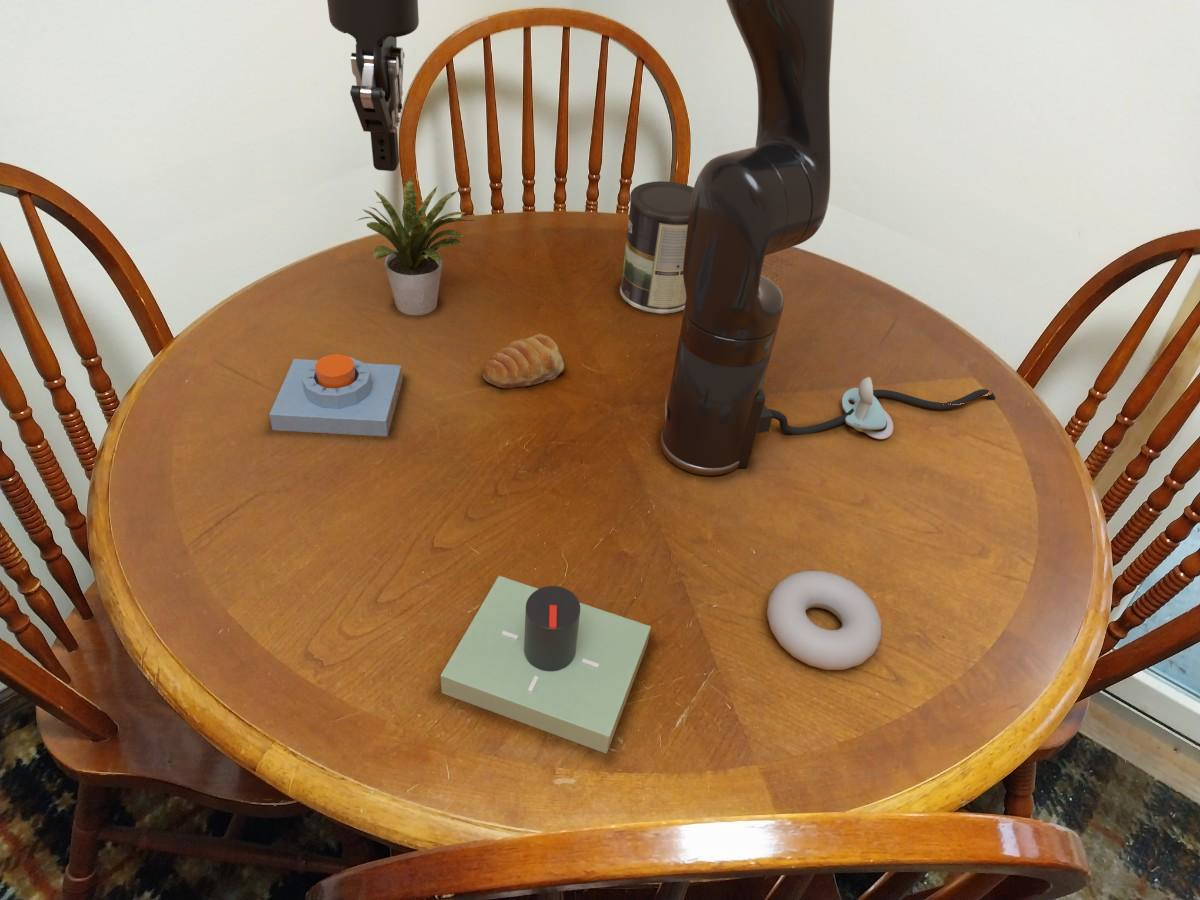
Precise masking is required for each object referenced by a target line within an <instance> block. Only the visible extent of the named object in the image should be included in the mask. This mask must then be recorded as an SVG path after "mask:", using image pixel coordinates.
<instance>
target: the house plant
mask: <svg viewBox="0 0 1200 900" xmlns="http://www.w3.org/2000/svg"><path fill="white" fill-rule="evenodd" d="M438 187H439V184H438V185H437V186H435V187H434V189H433V190H431V191H430V193H429V194H428V195H427V196H426V198H425V199H424V200H423V202H422V203H421V204H420V206H419V207H418V206H417V205H418V196H417V193H416V190H415V183H414V179H413V175H411V176H409V178H408V180H407V182H406V179H405V181H404V183H403V197H402V198H403V205H402V212H401V213H402V215H401V216H402V217H401V218H402V221H403V223H402V221H401V219H400V217H399V215H398V213H397V211H396V209H395V208H394V206H393V205H392V204H391V202H390V201H389V200H388V199H387V198H386V197H385V196H384V195H383V194H381V193H379V192H378V191H377V190H374V192H375V195H376V196H377V198H379V199H380V201H377V203H379V204H382V206H383V208H384V209H385V211H386V212H387V214H388V216H389V218H390V219H391V222H392V224H391V222H390V221H389V219H388V218H387V217H386V216H385V215H383V214H382V213H381V212H380V211H379V210H378V209H377V208H375V207H372V206H367V207H369V208H370V209H372V210H374V211H376V212H377V213H378V214H379V216H381V217H382V218H383V219H382V218H380V217H379V216H377V215H376V214H374V212H372V211H370V210H366V209H362V208H361V210H362V211H364V212H365V213H366V214H368V215H370V216H365V217H364V216H363V217H360V218H358V219H357V220H355V221H356V222H357V221H361V220H364V219H374V220H375V221H370V222H367V223H366V227H367V228H369V229H371V230H372V231H374V232H376V233H378V234H380V235H381V236H383V237H385V238H386V239H387V240H388V241H389V242H390V243H391V244H392V245H393V247H394V248H395V249H396V250H393V249H391V248H390V247H388V246H385V245H378V246H376V247H375V249H374V254H373V257H372V258H374V262H376V260H379V259H381V258H384V257H386V258H385V260H384V267H385V270H386V274H387V278H388V283H389V285H390V289H391V292H392V297H393V299H394V304H395V307H396V309H397V310H398V311H399V312H401V313H403V314H405V315H409V316H423V315H427V314H429V313H432V312H433V311H434V310H436V308H437V305H438V297H439V289H440V284H441V275H442V269H443V259H442V257H441V256H440V254H439V252H438V251H437V250H438V249H440V248H442V247H448V246H456V245H460V246H463V247H464V248H466V247H465V246H464V243H462V242H461V241H460V240H459V239H457V238H465V237H466V238H467V237H468V235H463V234H462V233H460V232H459V231H457V230H454V229H443V230H440V231H438V232H437V233H435V232H436V230H438V228H440V227H442V226H444V225H446V224H450V223H451V224H452V223H455V222H456V223H457V222H473V221H474V222H475V221H476V219H466V218H455V217H452V216H457V215H466V214H471V212H468V211H453V212H450V213H447V214H446V213H445V214H444V215H442V216H440V217H438V215H439V214H440V213H441V212H442V211H443V210H444V207H445V205H446V203H447V202H448V201H449V200H450V199H451V198H452V197H453V196H454V195H455V194H457V193H458V192H459V191H458V190H457V191H453V192H450V193H448V194H445V196H443V197H442V198H440V199H439V200H438V201H437V202H436V203H435V205H434V206H433V207H432V208H431V209H430V211H429V212H427V209H428V208H429V205H430V203H431V200H432V199H433V197H434V195H435V194H436V192H437V189H438ZM417 208H418V209H417ZM425 214H426V216H425ZM424 216H425V217H424ZM437 217H438V218H437ZM436 218H437V219H436ZM423 219H424V220H423ZM392 225H393V226H392ZM434 233H435V234H434ZM433 234H434V235H433ZM450 235H451V236H450ZM444 236H450V237H447V238H443V239H441V240H438V241H436V240H437V239H439V238H440V237H444ZM435 241H436V242H435ZM433 242H434V243H433Z"/></svg>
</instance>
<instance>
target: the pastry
mask: <svg viewBox="0 0 1200 900" xmlns="http://www.w3.org/2000/svg"><path fill="white" fill-rule="evenodd" d="M559 349H560V348H559V346H558V345H557V343H555V341H554V340H553V339H552V337H550V336H549V335H544V334H542V333H537V334H534V335H533V336H530V337H527V338H520V339H519V340H518V339H517V340H512V341H511V342H509V343H508V344H507V345H505V347H503V348H500V350H499V351H497V352H496V353H495V354H493V356H491V357H490V358H489V359H488V360H487V361H486V362H485V363H484V365H483V373H482V378H483V379H484V380H485V382H487V383H488V384H491V385H493V386H495V387H497V388H500V389H501V388H503V389H512V388H519V387H522V388H525V387H530V386H533V385H534V386H535V385H538V384H543V383H544V382H545V381H552V380H555V379H556V378H557V377H558V376H559V375H560V374H561V373H563V372H564V370H565V363H564V361H563V356H562V355H561V353H560V350H559Z"/></svg>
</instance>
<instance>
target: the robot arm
mask: <svg viewBox="0 0 1200 900" xmlns="http://www.w3.org/2000/svg"><path fill="white" fill-rule="evenodd" d="M326 2H327V10H328V11H327V12H328V18H329V22H330V25H331V26H332V27H333V28H334V29H335V30H337V31H338V32H340V33H342V34H348V35H349V36H351V37H353V39H354V40H355V52H351V54H350V65H351V72H352V74H353V76H354V77H355V81H356V85H355V84H353V85H351V88H350V90H349V94H350V97H351V101H352V103H353V106H354V109H355V112H356V114H357V117H358V120H359V122H360V125H361V129H362V131H363V132H365V133H370V143H371V152H372V163H373V167H374V169H375V170H377V171H385V172H395V171H396V170H397V168H398V165H399V163H400V153H399V141H398V127H399V123H400V122H401V119H400V116H399V114H401V113H402V109H403V103H402V100H403V98H402V97H403V94H404V93H403V79H404V77H403V76H404V64H405V52H404V49H403V47H400V46H397V44H398V42H397V40H398V39H397V38H400V37H405V36H408V35H409V34H412V33H413V32H415V31H416V30H417V28H418V27H419V23H420V20H419V19H420V18H419V0H326ZM725 2H726V4H727V6H728V9H729V11H730V14H731V16H732V18H733V21H734V23H735V25H736V27H737V30H738V32H739V34H740V36H741V39H742V41H743V43H744V45H745V47H746V50H747V53H748V55H749V57H750V60H751V63H752V66H753V70H754V75H755V80H756V87H757V88H756V89H757V129H756V133H757V134H756V139H755V146H752V147H748V148H745V149H740V150H736V151H731V152H727V153H724V154H720V155H718V156H716V157H713V158H711V159H710V160H709V161H708V162H707V163H706V164H705V165H704V166H703V167H702V168H701V170H700V172H699V174H698V176H697V178H696V180H695V182H694V186H693V188H694V189H693V193H692V198H691V203H690V210H689V218H688V227H687V237H686V246H685V255H684V264H683V278H684V285H685V290H686V301H685V308H684V310H683V314H682V319H681V325H680V331H679V337H678V343H677V348H676V353H675V359H674V365H673V371H672V376H671V382H670V388H669V393H668V395H666V396H665V402H664V414H665V415H664V422H663V425H662V429H661V434H660V439H659V441H660V442H659V444H660V450H661V451H662V453H663V455H664V457H665V458H666V459H667V460H668V461H669V462H670V463H671V464H673V465H674V466H675V467H677V468H678V469H680V470H682V471H685V472H688V473H691V474H694V475H698V476H706V477H714V476H715V477H717V476H722V475H726V474H727V475H728V474H729V473H732V472H734V471H736V470H737V469H747V468H748V467H749V464H750V463H749V462H750V459H751V456H752V452H753V451H752V450H753V449H754V446H755V445H754V444H755V440H756V437H757V434H762V433H769V431H770V427H771V425H772V421H773V419H774V420H777V421H778V422H779V428H780V430H781V431H782V432H783V433H785V434H787V435H792V436H802V435H811V434H816V433H821V432H824V431H826V430H830V429H832V428H835V427H837V426H840V425H842V424H844V423H846V422H845V419H846V417H847V416H848V415H851V414H852V413H853V412H854V409H853V408H852V409H851V410H850V411H849V412H848V413H847V412H846V413H845V412H844V413H843V414H841V415H840V416H837V417H835V418H833V419H830V420H826V421H824V422H820V423H817V424H813V425H809V426H803V427H800V426H799V427H798V426H797V427H796V426H791V425H789V423H788V422H789V421H788V418H787V416H786V415H785V414H784V413H782V412H780V411H779V410H776V409H771V408H768V407H767V405H766V400H767V399H766V397H767V396H766V393H765V388H764V383H765V378H766V374H767V371H768V367H769V365H770V360H771V356H772V351H773V347H774V344H775V342H776V341H775V340H776V337H777V333H778V329H779V326H780V322H781V318H782V315H783V310H784V306H785V305H784V302H785V301H784V295H783V292H782V291H781V289H780V288H779V286H778V285H777V283H775V282H773V280H771V279H769V278H768V277H767V276H765V275H763V274H762V270H763V265H764V260H765V257H767V256H768V255H772V254H775V253H779V252H781V251H785V250H787V249H790V248H792V247H793V248H794V247H795V246H798V245H800V244H803V243H805V242H806V241H808V240H810V239H811V238H812V237H813V236H815V234H816V233H817V232H818V230H819V229H820V228H821V226H822V224H823V223H824V220H825V217H826V214H827V210H828V208H829V207H828V206H829V202H830V201H829V200H830V193H831V116H830V115H831V112H830V111H831V110H830V109H831V107H830V105H831V104H830V101H831V99H830V97H831V96H830V91H831V90H830V88H831V87H830V84H831V81H830V80H831V64H832V63H831V61H832V47H833V46H832V45H833V31H834V30H833V29H834V12H835V11H834V10H835V0H725ZM989 391H990V390H989V389H986V388H982V389H978V390H974V391H972V392H971V393H968V394H966V395H964V396H962V397H960V398H957V399H955V400H954V399H953V400H951V401H952V402H951V401H946V402H947V403H940V402H941V401H931V400H926V399H922V398H919V397H916V396H912V395H909V394H906V393H902V392H899V391H894V390H890V389H889V390H888V389H873V395H874V396H875V397H876V398H886V399H893V400H897V401H901V402H903V403H906V404H910V405H912V406H916V407H918V408H919V407H920V408H924V409H928V410H934V411H947V410H954V409H956V408H959V407H962V406H964V405H966V404H967V403H966V402H968V401H970V402H973V401H974V400H976V398H977V399H979V398H982V397H981V396H983V395H985V394H987V393H988V392H989ZM978 397H979V398H978ZM983 397H984V398H986V399H987V400H989V401H995V400H996V395H995V394H994V393H993V392H992V394H991V395H988V396H983ZM950 403H951V405H950ZM960 403H965V404H961V405H952V404H960ZM968 403H969V402H968ZM854 404H855V403H854V401H852V403H851V405H854ZM943 404H944V405H943ZM948 404H949V405H948Z"/></svg>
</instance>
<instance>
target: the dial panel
mask: <svg viewBox="0 0 1200 900" xmlns="http://www.w3.org/2000/svg"><path fill="white" fill-rule="evenodd" d="M538 589H539V588H537V587H535V586H531V585H528V584H525V583H522V582H520V581H517V580H513V579H511V578H508V577H504V576H503V575H502V576H501V575H498V576H497V578H496V580H495V581H494V583H493V584H492V587H491V588H490V589H489V592H488V593H487V595H486V597H485V598H484V600H483V602H482V603H481V605H480V607H479V609H478V611H477V612H476V614H475V616H474V617H473V619H472V620H471V622H470V624H469V626H468V628H467V629H466V631H465V632H464V634H463V636H462V638H461V640H460V641H459V643H458V645H457V646H456V648H455V650H454V651H453V653H452V655H451V656H450V658H449V660H448V662H447V663H446V665H445V667H444V669H443V670H442V672H441V674H440V688H441V694H443V695H445V696H448V697H451V698H452V699H453V698H454V699H456V700H459V701H461V702H464V703H467V704H470V705H472V706H475V707H477V708H480V709H484V710H485V711H489V712H492V713H494V714H496V715H500V716H503V717H506V718H507V719H508V718H509V719H511V720H513V721H516V722H519V723H521V724H523V725H524V724H525V725H526V726H530V727H533V728H535V729H538V730H539V731H543V732H545V733H548V734H551V735H554V736H557V737H559V738H562V739H565V740H568V741H570V742H573V743H576V744H578V745H582V746H584V747H587V748H589V749H592V750H595V751H598V752H600V753H603V754H606V755H607V754H608V752H609V749H610V747H611V743H612V741H613V738H614V735H615V732H616V730H617V727H618V725H619V722H620V719H621V718H622V717H621V716H622V714H623V711H624V708H625V706H626V703H627V701H628V698H629V695H630V692H631V689H632V688H633V684H634V683H635V679H636V677H637V673H638V671H639V668H640V665H641V663H642V660H643V658H644V655H645V653H646V650H647V647H648V644H649V640H650V635H651V629H652V626H651V625H648V624H645V623H642V622H639V621H637V620H633V619H630V618H627V617H624V616H621V615H619V614H615V613H612V612H610V611H606V610H603V609H600V608H597V607H594V606H592V605H588V604H586V603H582V602H580V601H579V603H580V618H579V627H578V636H577V645H576V653H575V657H574V659H573V660H572V662H571V663H570V664H569V665H568V666H566V667H565V668H563V669H560V670H557V671H543V670H540V669H538V668H536V667H534V666H533V665H531V664H530V663H529V661H528V660H527V658H526V657H525V654H524V635H525V612H526V603H527V600H528V598H529V597H530V595H531V594H532V593H533V592H535V591H536V590H538Z"/></svg>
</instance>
